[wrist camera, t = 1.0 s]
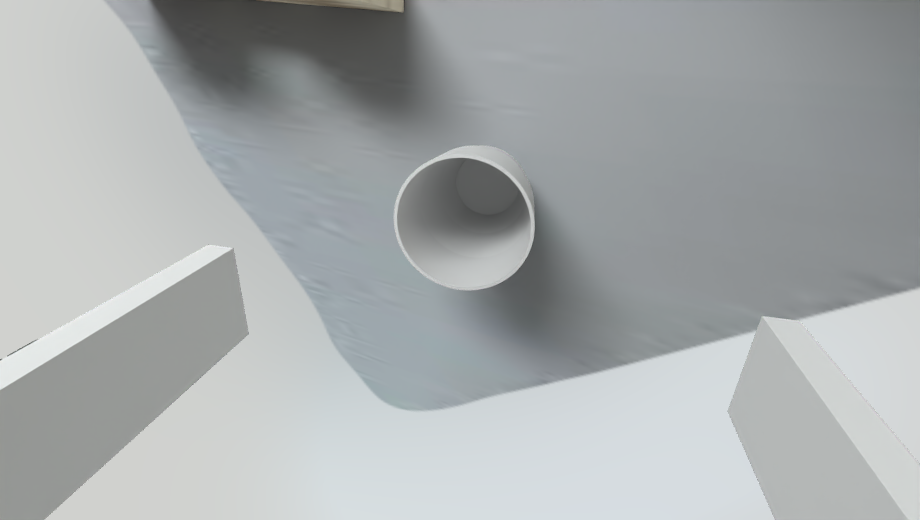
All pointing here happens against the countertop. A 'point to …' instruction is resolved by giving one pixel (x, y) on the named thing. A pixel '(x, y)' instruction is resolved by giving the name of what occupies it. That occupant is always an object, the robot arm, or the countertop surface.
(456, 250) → the cup
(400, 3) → the maple plate
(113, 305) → the robot arm
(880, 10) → the countertop surface
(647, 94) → the countertop surface
